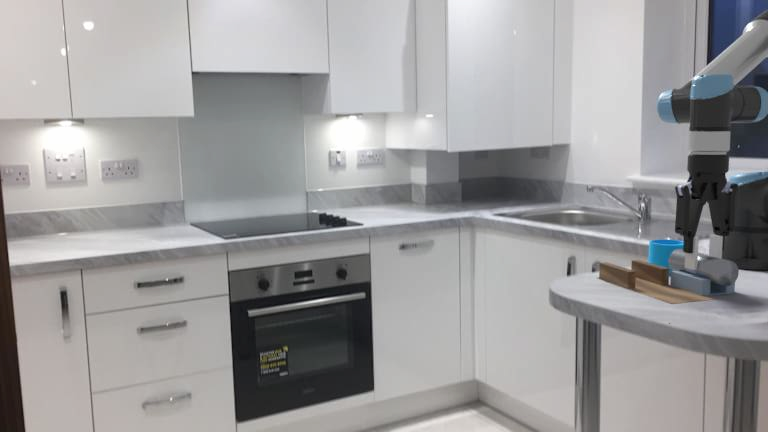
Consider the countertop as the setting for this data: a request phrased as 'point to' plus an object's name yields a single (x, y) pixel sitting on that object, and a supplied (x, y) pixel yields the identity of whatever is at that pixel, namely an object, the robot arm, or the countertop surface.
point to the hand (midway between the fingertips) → (702, 267)
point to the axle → (706, 267)
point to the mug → (663, 251)
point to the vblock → (698, 284)
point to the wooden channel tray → (647, 281)
